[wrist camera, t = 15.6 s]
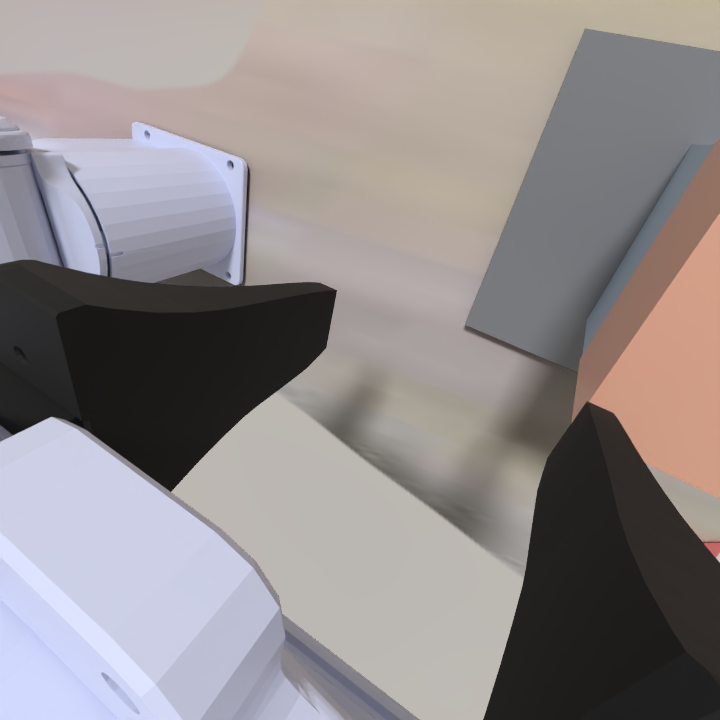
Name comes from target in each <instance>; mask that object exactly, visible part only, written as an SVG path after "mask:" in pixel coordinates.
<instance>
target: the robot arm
mask: <svg viewBox="0 0 720 720" xmlns="http://www.w3.org/2000/svg"><path fill="white" fill-rule="evenodd" d="M132 137H133V139H74V138H44V139H36V140H32V141H31V138H30V135H29V133H28V132H27V131H25V130H22V129H19V128H18V126H17V125H15V124H14V123H13V122H11V121H10V120H9V119H7V118H5V117H0V720H419V719H418V718H417V717H415V716H414V715H413V714H411V713H410V712H409V711H408V710H406V709H405V708H404V707H402V706H401V705H400V704H398V703H397V702H396V701H395V700H393V699H392V698H391V697H389V696H388V695H387V694H386V693H384V692H383V691H382V690H380V689H379V688H378V687H376V686H375V685H374V684H372V683H371V682H370V681H369V680H367V679H366V678H365V677H364V676H362V675H361V674H360V673H358V672H357V671H356V670H354V669H353V668H352V667H351V666H349V665H348V664H346V663H345V662H344V661H343V660H342V659H340V658H339V657H338V656H336V655H335V654H334V653H332V652H331V651H330V650H329V649H327V648H326V647H325V646H323V645H322V644H321V643H319V642H318V641H317V640H316V639H314V638H313V637H312V636H310V635H309V634H308V633H307V632H305V631H304V630H303V629H301V628H300V627H299V626H297V625H296V624H295V623H293V622H292V621H291V620H290V619H288V618H287V617H286V616H284V615H283V614H282V611H281V605H280V601H279V596H278V595H277V593H276V591H275V590H274V588H273V587H272V585H271V584H270V582H269V581H268V579H267V578H266V576H265V575H264V573H263V572H262V570H261V569H260V567H259V566H258V564H257V563H256V561H255V560H254V559H253V558H251V556H250V555H248V554H247V553H246V552H245V551H244V550H243V549H242V548H241V547H240V546H239V545H238V544H237V543H236V542H234V540H232V539H231V538H230V537H229V536H228V535H227V534H226V533H225V532H224V531H223V530H222V529H220V528H219V527H218V526H216V525H215V524H213V523H212V522H210V521H209V520H208V519H207V518H205V517H204V516H203V515H201V514H200V513H198V512H197V511H196V510H194V509H193V508H192V507H190V506H189V505H188V504H186V503H185V502H183V501H182V500H181V499H179V498H178V497H177V496H175V495H174V494H172V493H171V491H172V490H173V489H174V488H175V487H176V486H177V485H178V484H179V482H180V481H181V480H182V479H183V478H184V477H185V476H186V475H187V474H188V473H189V471H190V470H191V469H192V468H193V467H194V466H195V465H196V464H197V463H198V462H199V460H201V458H203V457H204V455H205V454H206V453H207V452H208V451H209V450H210V449H211V448H212V447H213V446H214V445H215V444H216V443H217V442H218V441H219V440H220V439H221V438H222V437H223V436H224V435H225V434H226V433H227V432H228V431H229V430H231V429H232V428H233V427H234V426H235V425H236V424H237V423H238V422H239V421H240V420H241V419H242V418H243V417H244V416H245V415H247V414H248V413H249V412H250V411H252V410H253V409H254V408H255V407H256V406H258V405H259V404H260V403H262V402H263V401H264V400H266V399H267V398H268V397H270V396H271V395H272V394H274V393H275V392H276V391H278V390H279V389H280V388H282V387H283V386H284V385H286V384H287V383H288V382H290V381H291V380H292V379H294V378H295V377H296V376H297V375H299V374H300V373H301V372H302V371H304V370H305V369H306V368H307V367H308V366H309V365H310V364H311V363H312V362H313V361H314V360H315V359H316V358H317V357H318V356H319V355H320V354H321V353H322V352H323V351H324V350H325V348H326V346H327V340H328V335H329V330H330V324H331V319H332V314H333V308H334V303H335V298H336V292H337V290H335V289H333V288H330V287H328V286H326V285H324V284H321V283H315V282H302V283H285V284H271V285H257V286H233V287H196V286H177V285H167V284H157V283H155V282H158V281H162V280H165V279H168V278H172V277H175V276H178V275H181V274H185V273H188V272H191V271H194V270H198V269H202V270H204V271H206V272H208V273H210V274H212V275H215V276H217V277H219V278H221V279H223V280H225V281H227V282H229V283H231V284H233V285H239V284H241V283H242V282H243V267H244V244H245V220H246V196H247V172H248V169H247V164H246V162H245V161H244V159H242V158H240V157H237V156H234V155H231V154H228V153H225V152H223V151H220V150H217V149H214V148H211V147H209V146H206V145H203V144H200V143H197V142H194V141H192V140H189V139H186V138H183V137H180V136H177V135H175V134H172V133H169V132H166V131H163V130H160V129H158V128H155V127H152V126H149V125H146V124H144V123H141V122H134V123H133V124H132ZM232 162H233V165H234V168H233V167H232ZM230 275H231V276H230ZM483 720H720V562H719V561H718V560H717V559H716V558H715V556H714V555H713V554H712V553H711V552H710V550H709V549H708V548H707V547H706V546H705V545H704V543H703V542H702V541H701V540H700V539H699V537H698V536H697V535H696V534H695V533H694V531H693V530H692V529H691V528H690V526H689V525H688V524H687V523H686V521H685V520H684V519H683V517H682V516H681V515H680V513H679V512H678V511H677V509H676V508H675V507H674V505H673V504H672V502H671V501H670V500H669V498H668V497H667V495H666V494H665V493H664V491H663V490H662V488H661V487H660V485H659V484H658V482H657V481H656V479H655V478H654V476H653V475H652V473H651V472H650V470H649V469H648V467H647V466H646V464H645V462H644V461H643V459H642V458H641V456H640V454H639V453H638V451H637V449H636V448H635V446H634V444H633V443H632V441H631V439H630V438H629V436H628V434H627V433H626V431H625V429H624V428H623V426H622V425H621V423H620V421H619V420H618V418H617V417H616V416H615V414H614V413H613V412H610V411H608V410H606V409H604V408H601V407H599V406H597V405H595V404H592V403H590V402H588V401H587V402H586V403H585V405H584V406H583V407H582V409H581V410H580V412H579V413H578V415H577V416H576V418H575V419H574V421H573V422H572V423H571V425H570V426H569V428H568V429H567V431H566V432H565V434H564V435H563V436H562V438H561V439H560V441H559V442H558V444H557V445H556V447H555V448H554V450H553V451H552V452H551V454H550V455H549V457H548V458H547V461H546V465H545V468H544V471H543V474H542V477H541V480H540V484H539V487H538V491H537V497H536V503H535V510H534V516H533V523H532V530H531V537H530V544H529V551H528V558H527V565H526V571H525V576H524V581H523V586H522V590H521V594H520V597H519V601H518V605H517V609H516V612H515V616H514V620H513V624H512V627H511V630H510V634H509V638H508V641H507V644H506V648H505V651H504V654H503V658H502V661H501V665H500V668H499V671H498V674H497V678H496V681H495V684H494V687H493V691H492V694H491V697H490V700H489V704H488V707H487V710H486V713H485V716H484V719H483Z"/></svg>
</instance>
